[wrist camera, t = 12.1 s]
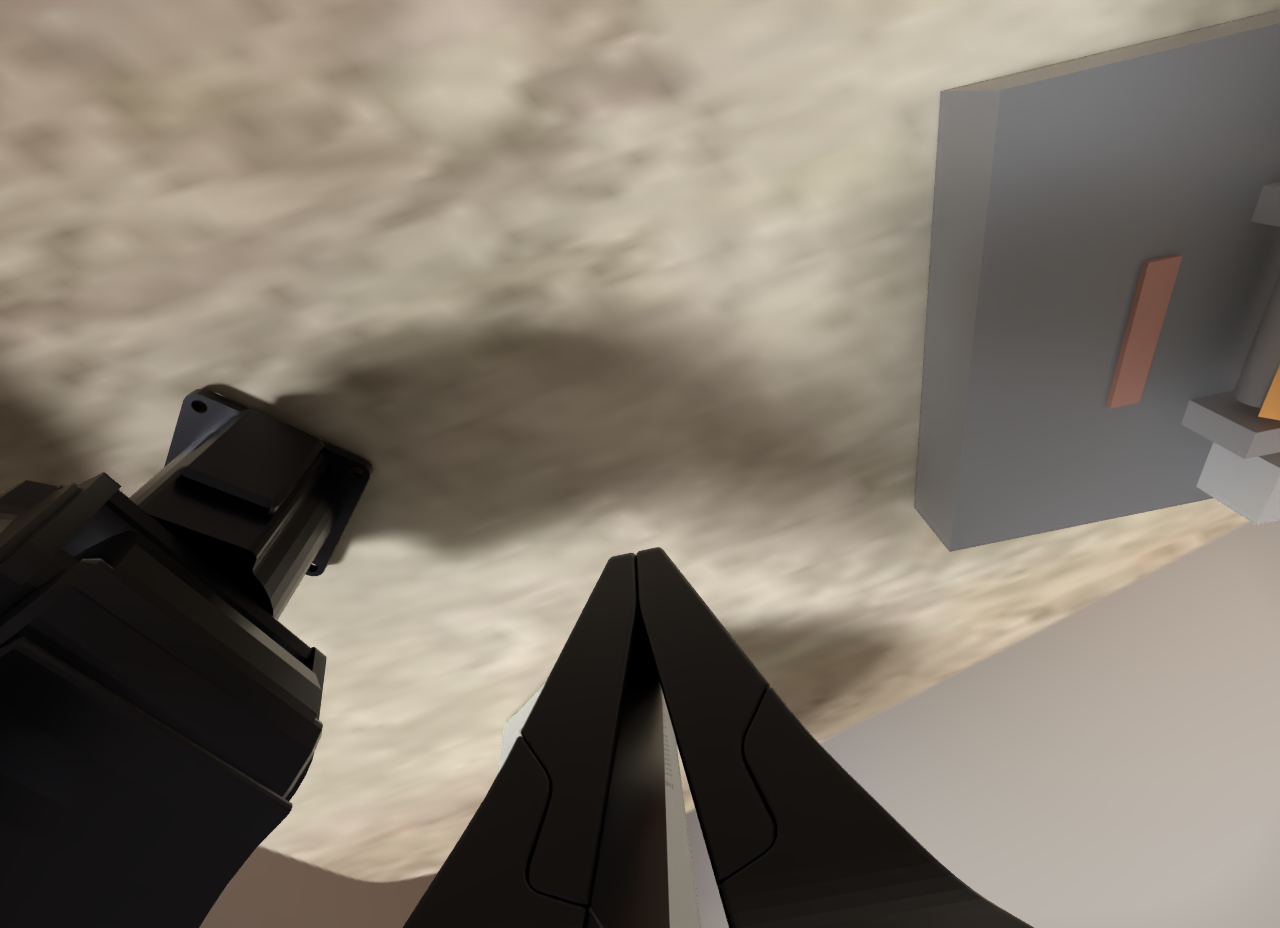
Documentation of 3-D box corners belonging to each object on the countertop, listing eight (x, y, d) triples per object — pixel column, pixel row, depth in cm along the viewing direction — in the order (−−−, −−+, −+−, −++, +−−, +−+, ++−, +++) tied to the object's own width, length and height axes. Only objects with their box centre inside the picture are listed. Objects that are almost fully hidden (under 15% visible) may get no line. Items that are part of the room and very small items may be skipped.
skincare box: (576, 637, 29) (566, 1051, 16) (674, 675, 31) (732, 1068, 18) (499, 727, 32) (441, 1128, 20) (592, 756, 34) (593, 1134, 22)
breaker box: (914, 507, 26) (983, 594, 21) (941, 91, 17) (1065, 88, 13) (1235, 441, 25) (1377, 516, 21) (1426, -26, 17) (1740, -73, 12)
